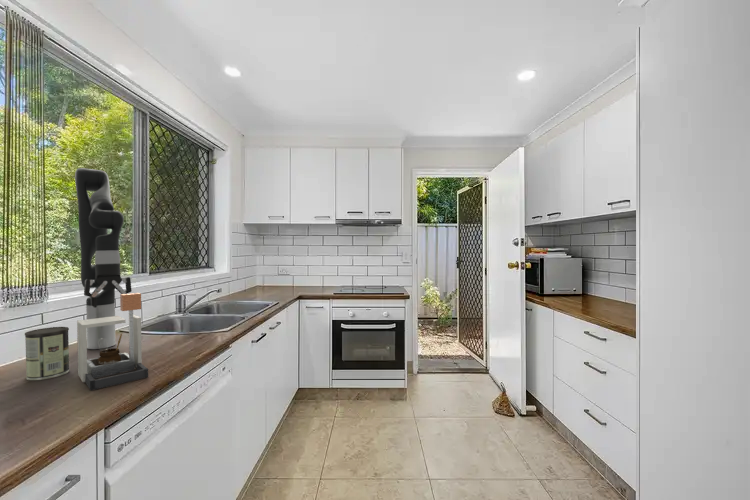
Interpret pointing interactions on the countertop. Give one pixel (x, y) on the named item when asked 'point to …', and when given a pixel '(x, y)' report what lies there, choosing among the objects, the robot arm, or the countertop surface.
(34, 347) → the coffee can
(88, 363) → the slider
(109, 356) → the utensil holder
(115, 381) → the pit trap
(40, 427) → the countertop surface
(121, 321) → the white and grey frame
